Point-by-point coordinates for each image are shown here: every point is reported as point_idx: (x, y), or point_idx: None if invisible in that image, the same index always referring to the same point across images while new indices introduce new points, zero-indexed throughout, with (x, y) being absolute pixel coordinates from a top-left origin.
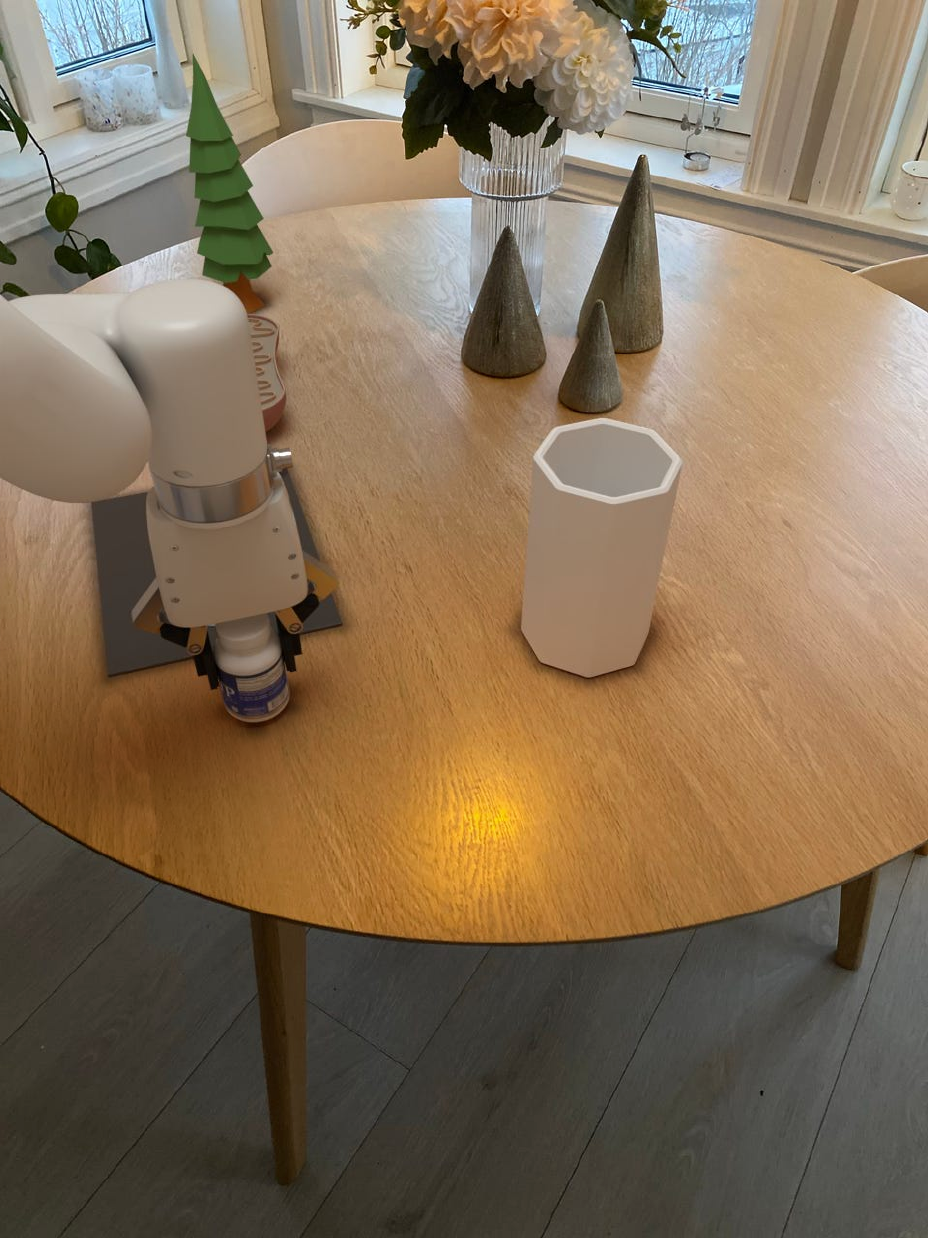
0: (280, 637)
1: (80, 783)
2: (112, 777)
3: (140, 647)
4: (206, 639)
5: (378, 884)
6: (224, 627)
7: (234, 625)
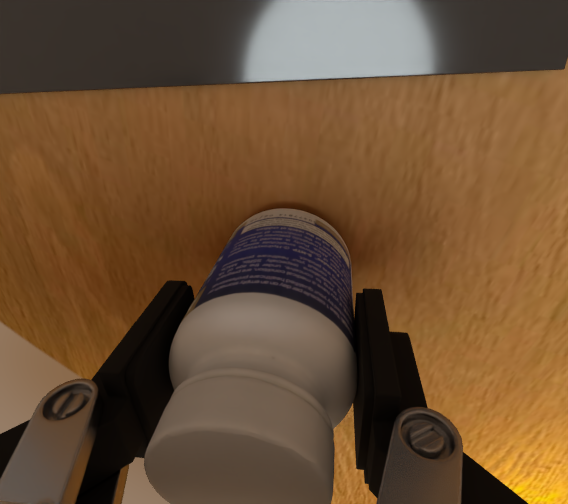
0: (357, 404)
1: (36, 306)
2: (76, 310)
3: (29, 15)
4: (137, 409)
5: (373, 500)
6: (176, 489)
7: (209, 491)
